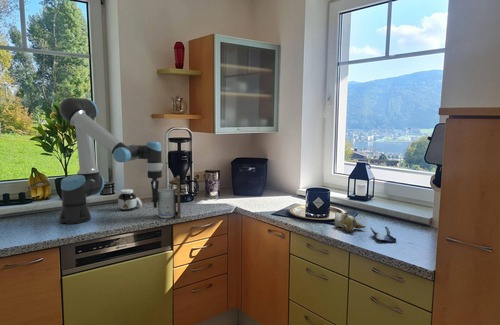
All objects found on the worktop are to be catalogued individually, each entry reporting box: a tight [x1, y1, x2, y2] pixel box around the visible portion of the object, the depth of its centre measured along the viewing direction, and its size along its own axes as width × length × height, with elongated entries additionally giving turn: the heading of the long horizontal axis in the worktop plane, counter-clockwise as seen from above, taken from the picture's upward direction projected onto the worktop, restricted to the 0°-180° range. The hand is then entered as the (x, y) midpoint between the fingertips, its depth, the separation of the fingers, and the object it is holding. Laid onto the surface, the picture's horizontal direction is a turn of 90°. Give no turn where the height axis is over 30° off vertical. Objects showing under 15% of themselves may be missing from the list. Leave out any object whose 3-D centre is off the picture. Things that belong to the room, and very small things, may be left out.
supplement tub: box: [158, 188, 177, 219], centre depth 204 cm, size 10×10×15 cm
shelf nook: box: [169, 175, 182, 220], centre depth 204 cm, size 5×10×22 cm, turn 11°
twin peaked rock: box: [370, 226, 397, 244], centre depth 167 cm, size 12×7×12 cm
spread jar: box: [117, 188, 143, 212], centre depth 221 cm, size 12×11×12 cm
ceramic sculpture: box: [334, 211, 366, 232], centre depth 182 cm, size 11×9×15 cm
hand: (155, 213), depth 202 cm, fingers closed
